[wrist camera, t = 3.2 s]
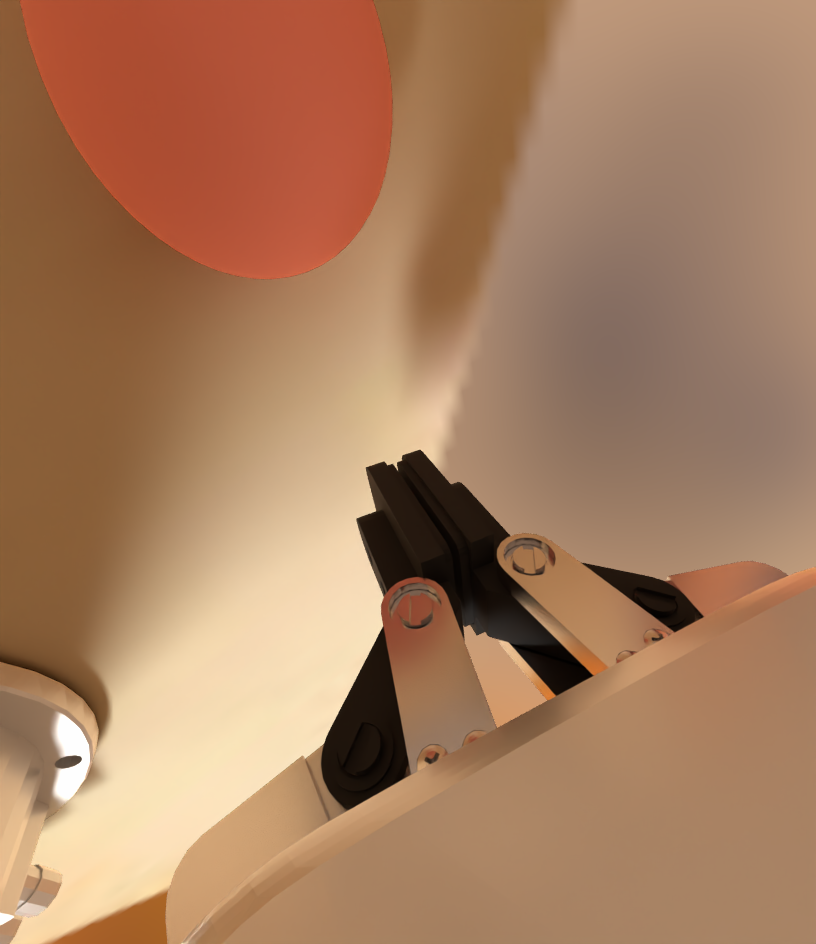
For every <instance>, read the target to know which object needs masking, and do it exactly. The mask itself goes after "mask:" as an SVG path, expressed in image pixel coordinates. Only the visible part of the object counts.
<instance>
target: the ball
mask: <svg viewBox="0 0 816 944" xmlns="http://www.w3.org/2000/svg"><path fill="white" fill-rule="evenodd" d="M20 4H21V8H22V13H23V18H24V22H25V27H26V32H27V36H28V39H29V42H30V45H31V49H32V52H33V55H34V58H35V61H36V64H37V67H38V70H39V73H40V75H41V78H42V80H43V83H44V85H45V87H46V89H47V92H48V94H49V96H50V99H51V101H52V103H53V105H54V108H55V110H56V112H57V114H58V116H59V118H60V120H61V122H62V123H63V125H64V127H65V129H66V131H67V132H68V134H69V136H70V138H71V140H72V141H73V143H74V145H75V146H76V148H77V149H78V151H79V152H80V154H81V155H82V157H83V158H84V160H85V161H86V163H87V164H88V166H89V167H90V169H91V170H92V171H93V173H94V174H95V175H96V176H97V178H98V179H99V180H100V181H101V183H102V184H103V185H104V186H105V187H106V189H107V190H108V191H109V192H110V194H111V195H112V196H113V197H114V198H115V199H116V200H117V201H118V202H119V203H120V204H121V205H122V206H123V207H124V208H125V209H126V210H127V211H128V212H129V213H130V214H131V215H132V216H133V217H134V218H135V219H136V220H137V221H138V222H139V223H141V224H142V225H143V226H144V227H145V228H147V229H148V230H149V231H150V232H151V233H152V234H154V235H155V236H156V237H157V238H159V239H160V240H162V241H163V242H165V243H166V244H167V245H169V246H170V247H172V248H173V249H175V250H176V251H178V252H180V253H181V254H183V255H185V256H187V257H189V258H190V259H192V260H194V261H196V262H198V263H200V264H203V265H205V266H207V267H210V268H212V269H215V270H217V271H221V272H224V273H228V274H231V275H235V276H240V277H247V278H253V279H276V278H284V277H291V276H295V275H298V274H302V273H305V272H308V271H310V270H313V269H315V268H317V267H319V266H321V265H323V264H324V263H326V262H327V261H329V260H331V259H332V258H334V257H335V256H336V255H337V254H339V253H340V252H341V251H342V250H343V249H344V248H345V247H346V246H347V245H348V244H349V243H350V242H351V241H352V239H353V238H354V237H355V236H356V235H357V233H358V232H359V231H360V229H361V228H362V226H363V225H364V223H365V221H366V220H367V218H368V216H369V215H370V213H371V211H372V209H373V207H374V205H375V202H376V200H377V198H378V196H379V193H380V190H381V187H382V183H383V180H384V177H385V173H386V168H387V163H388V158H389V152H390V143H391V134H392V104H393V101H392V89H391V76H390V69H389V63H388V57H387V51H386V46H385V42H384V38H383V34H382V30H381V26H380V22H379V18H378V15H377V11H376V8H375V5H374V3H373V0H20Z"/></svg>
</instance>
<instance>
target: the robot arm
mask: <svg viewBox="0 0 816 944" xmlns="http://www.w3.org/2000/svg"><path fill="white" fill-rule="evenodd" d="M397 467H398V471H397V469H396V468H395V466H394V465H393V464H391V465H388V466H387V464H386V463H385V462H381V463H378V464H375V465H372V466H369V467H366V471H367V476H368V480H369V484H370V488H371V492H372V496H373V500H374V504H375V508H376V512H373V513H371V514H368V515H365V516H362V517H359V518H357V519H356V520H357V524H358V528H359V531H360V534H361V538H362V541H363V544H364V547H365V550H366V553H367V555H368V558H369V561H370V563H371V566H372V569H373V571H374V573H375V576H376V578H377V581H378V583H379V586H380V588H381V591H382V593H383V596H384V599H383V601H382V604H381V615H382V621H383V628H382V630H381V631H380V633H379V635H378V637H377V639H376V641H375V643H374V645H373V647H372V649H371V651H370V653H369V655H368V657H367V659H366V661H365V663H364V665H363V666H362V668H361V670H360V672H359V674H358V676H357V678H356V680H355V682H354V684H353V686H352V688H351V690H350V692H349V694H348V696H347V698H346V700H345V701H344V703H343V705H342V707H341V709H340V711H339V713H338V715H337V717H336V719H335V721H334V723H333V725H332V727H331V729H330V731H329V733H328V735H327V737H326V740H325V743H324V744H323V745H322V746H321V747H320V748H318V749H317V750H316V751H315V752H313V753H312V754H311V755H310V756H308V757H307V758H306V759H305V758H304V756H301V757H300V758H299V759H297V760H296V761H295V762H294V763H292V764H291V765H290V766H289V767H287V768H286V769H285V770H284V771H282V772H281V773H280V774H279V775H277V776H276V777H275V778H274V779H272V780H271V781H270V782H269V783H267V784H266V785H265V786H263V787H262V788H261V789H260V790H258V791H257V792H256V793H255V794H253V795H252V796H251V797H250V798H248V799H247V800H246V801H245V802H243V803H242V804H241V805H240V806H238V807H237V808H236V809H235V810H233V811H232V812H231V813H230V814H228V815H227V816H226V817H224V818H223V819H222V820H221V821H219V822H218V823H217V824H216V825H214V826H213V827H212V828H211V829H209V830H208V831H207V832H206V833H204V834H203V835H202V836H201V837H200V838H199V839H198V840H197V841H196V842H195V843H194V844H193V845H192V846H191V847H190V848H189V849H188V850H187V852H186V854H185V855H184V857H183V859H182V860H181V862H180V864H179V865H178V867H177V869H176V870H175V873H174V876H173V879H172V882H171V885H170V888H169V891H168V894H167V905H166V927H167V941H168V944H816V567H813V568H809V569H806V570H803V571H800V572H796V573H794V574H791V575H787V574H786V573H784V572H782V571H781V570H779V569H777V568H775V567H772V566H770V565H767V564H764V563H759V562H754V561H741V562H736V563H731V564H726V565H721V566H716V567H711V568H706V569H701V570H696V571H691V572H686V573H681V574H676V575H671V576H668V577H667V580H666V581H663V580H660V579H656V578H653V577H649V576H644V575H639V574H635V573H630V572H624V571H620V570H615V569H610V568H605V567H600V566H595V565H590V564H586V563H581V562H579V561H578V560H576V559H575V558H574V557H572V556H571V555H570V554H568V553H567V552H566V551H564V550H563V549H561V548H560V547H559V546H558V545H556V544H555V543H554V542H552V541H551V540H549V539H547V538H545V537H543V536H540V535H537V534H531V533H530V534H529V533H521V534H515V535H512V536H510V535H509V534H508V533H507V532H506V531H505V529H504V528H503V527H502V526H501V525H500V524H499V523H498V522H497V521H496V520H495V519H494V517H493V516H492V515H491V514H490V513H489V512H488V511H487V510H486V509H485V508H484V507H483V505H482V504H481V503H480V502H479V501H478V500H477V499H476V498H475V497H474V496H473V495H472V493H471V492H470V491H469V490H468V489H467V488H466V487H465V486H464V485H463V484H462V483H460V482H457V483H454V484H450V483H449V482H448V481H447V479H446V478H445V477H444V476H443V475H442V474H441V472H440V471H439V470H438V469H437V468H436V467H435V466H434V464H433V463H432V462H431V461H430V460H429V459H428V457H427V456H426V455H425V454H424V453H423V452H422V451H421V450H417V451H414V452H411V453H408V454H405V455H403V456H402V461H400V462H397ZM463 625H464V626H465V627H466V626H468V625H471V627H472V628H473V630H474V632H475V633H476V635H479V634H481V633H483V632H486V633H487V635H488V636H489V637H492V638H496V639H499V643H500V644H501V646H502V647H503V649H504V650H505V651H506V653H507V654H508V655H509V656H510V657H511V658H512V660H513V661H514V662H515V663H516V664H517V666H518V667H519V668H520V669H521V670H522V671H523V673H524V674H525V675H526V676H527V677H528V678H529V680H530V681H531V682H532V683H533V684H534V685H535V686H536V688H537V689H538V690H539V691H540V692H541V694H542V695H543V696H544V697H545V698H546V699H547V701H546V702H544V703H543V704H541V705H539V706H537V707H535V708H533V709H532V710H530V711H528V712H526V713H524V714H522V715H520V716H519V717H517V718H515V719H513V720H511V721H509V722H508V723H506V724H504V725H502V726H500V727H498V728H497V727H496V724H495V722H494V719H493V716H492V713H491V711H490V708H489V705H488V703H487V700H486V697H485V695H484V692H483V690H482V687H481V684H480V682H479V679H478V676H477V673H476V671H475V668H474V666H473V663H472V660H471V657H470V655H469V652H468V649H467V647H466V644H465V640H464V630H463ZM98 733H99V730H98V726H97V722H96V718H95V715H94V713H93V712H92V711H91V709H90V708H89V706H88V705H87V704H86V702H85V701H84V700H83V699H82V698H81V697H80V696H78V695H77V694H76V693H74V692H73V691H72V690H70V689H69V688H68V687H66V686H65V685H63V684H61V683H59V682H57V681H55V680H53V679H51V678H48V677H46V676H44V675H42V674H40V673H37V672H35V671H32V670H28V669H25V668H21V667H18V666H14V665H10V664H7V663H3V662H0V944H10V942H11V941H12V939H13V938H14V937H15V935H16V932H17V930H18V928H19V926H20V924H21V921H22V916H23V917H28V918H29V917H33V916H37V915H39V914H40V913H41V912H42V911H44V910H45V909H46V908H47V907H48V906H49V905H50V903H51V902H52V901H53V900H54V898H55V897H56V895H57V893H58V891H59V889H60V886H61V884H62V874H61V873H59V872H58V871H57V870H54V869H51V868H48V867H45V866H41V865H34V866H33V865H30V864H31V861H32V858H33V855H34V852H35V848H36V845H37V842H38V839H39V836H40V833H41V829H42V826H43V823H44V821H45V820H46V819H48V818H49V817H50V816H52V815H53V814H54V813H56V812H57V811H58V810H59V809H60V808H61V807H62V806H63V805H64V804H65V803H66V802H67V801H68V800H69V799H70V798H71V797H72V796H73V795H74V794H76V792H77V791H78V789H79V788H80V786H81V785H82V783H83V782H84V781H85V779H86V778H87V776H88V774H89V771H90V767H91V764H92V761H93V758H94V754H95V751H96V747H97V740H98Z"/></svg>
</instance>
